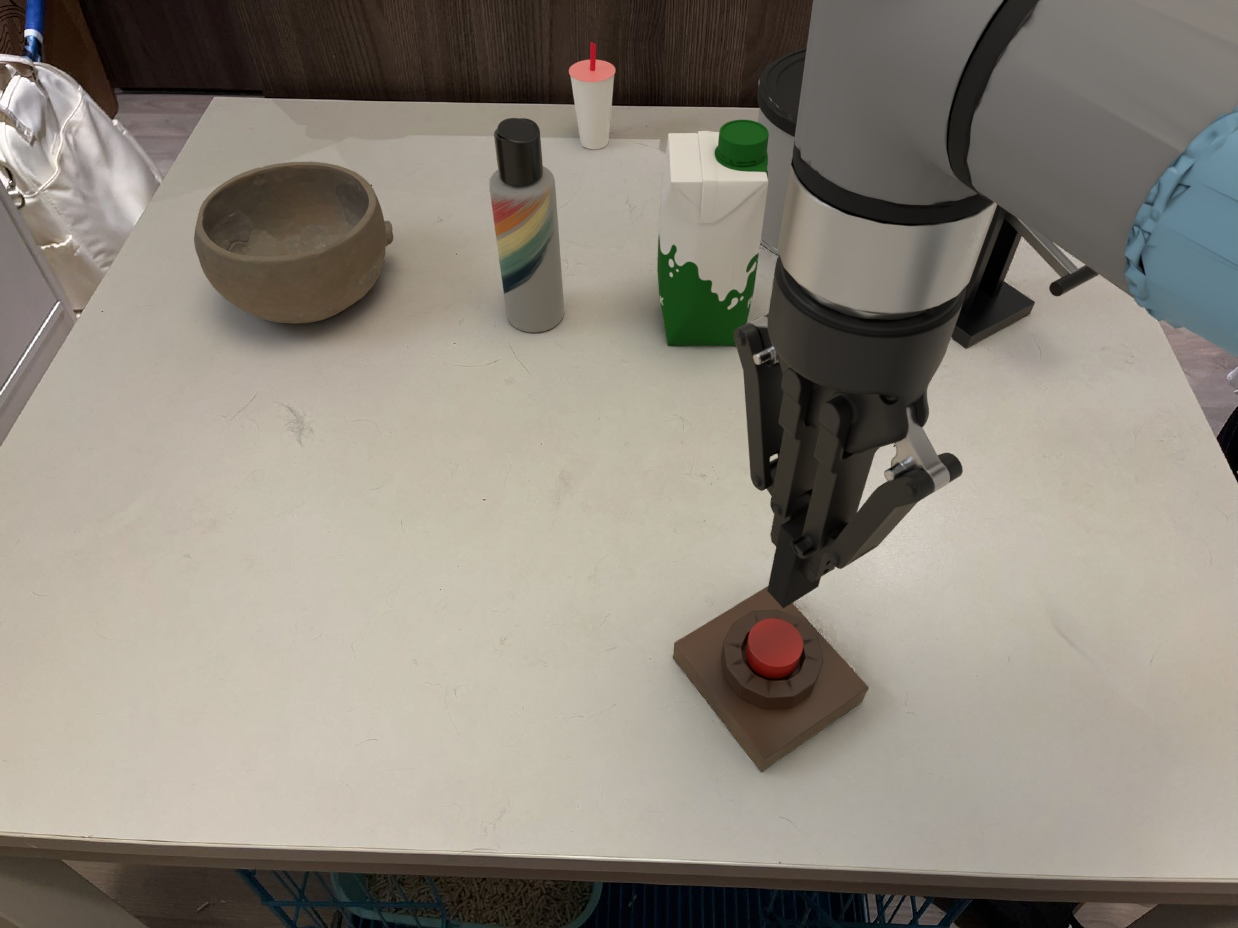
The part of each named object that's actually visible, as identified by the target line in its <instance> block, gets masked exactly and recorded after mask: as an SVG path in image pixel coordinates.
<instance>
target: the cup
mask: <svg viewBox="0 0 1238 928" xmlns="http://www.w3.org/2000/svg"><path fill="white" fill-rule="evenodd" d="M589 52H590V56H589V59H584V60H580V61H577V62H575V63H573V64H572V65H571V66H570V67H569V69H568V74H569V75H570V82H571V87H572V88H571V89H572V97H573V103H574V109H575V116H576V117H575V118H576V122H577V130H578V134H579V142H580V145H581V146H582V147H584V148H585V149H589V150H599V149H604V148H606V146H608V144H609V138H610V130H611V118H612V106H613V94H614V82H615V74H616V67H615V66H614V64H612V63H610V62H609V61H606V60H602V59H597V44H596V43H594V42H592V41H591V42H590V51H589Z"/></svg>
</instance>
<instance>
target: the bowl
mask: <svg viewBox="0 0 1238 928" xmlns="http://www.w3.org/2000/svg"><path fill="white" fill-rule="evenodd" d="M383 213H384V212H383V209H382V206H381V203H380V200H379V199H378V196H377V194H376V192H375V189H374V188H373V186H372V184H370V182H368V181H367V179H366V178H364V177H363V176H362V175H360V174H359V173H358V172H356V171H354V170H351V169H349V168H346V167H344V166H340V165H337V164H333V163H327V162H321V161H287V162H281V163H279V162H278V163H273V164H268V165H264V166H261V167H256V168H253V169H249V170H247V171H243V172H241V173H239V174H237V175H235V176H233V177H231V178H230V179H228V180H226V181H225V182H223V183H221V184H220V185H219V186H217V187H216V188H215V189H213V191H211V192H210V193H209V195H208V196H206V197H205V199H204V200H203V201H202V203H201V205H200V207H199V211H198V213H197V218H196V222H195V228H194V233H193V234H194V236H193V244H194V249H195V253H196V256H197V259H198V261H199V264H200V268H201V270H202V272H203V274H204V275H205V277H206V279H207V280H208V282H209V283H210V285H211V286H212V287H213V289H215V291H216V292H217V293H218V294H220V295H221V296H222V297H223V298H224V299H225V300H227V301H228V302H229V303H230V304H232V305H233V306H235V307H237V308H238V309H240V310H242V311H243V312H245V313H247V314H250V315H252V316H254V317H256V318H260V319H262V320H265V321H268V322H269V321H270V322H274V323H280V324H309V323H316V322H320V321H323V320H327V319H330V318H332V317H334V316H336V315H338V314H339V313H341V312H343V311H344V310H346V309H348V308H349V307H351V306H352V305H354V304H355V303H357V302H358V301H359V300H361V299H363V298H364V297H365V296H367V293H368V292H369V291H370V290H371V289H372V288H373V287H374V285H375V284H376V282H377V280H378V279H379V277H380V275H381V272H382V270H383V266H384V262H385V259H386V253H387V251H386V250H387V249H386V247H387V246H389V245H391V244H392V243H393V241H394V232H393V223H392V222H391V221H390V220H385V218H384V214H383Z"/></svg>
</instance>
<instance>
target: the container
mask: <svg viewBox="0 0 1238 928" xmlns="http://www.w3.org/2000/svg"><path fill="white" fill-rule="evenodd" d="M806 51H807V47H803V48H799V49H795V50H793V51H789V52H787V53H785V54H783V55H780V56H779V57H776V58H775V59H774V60H773V61H771V62H770V63H769V64H767V66H765V68H764V69H763V70H762V71H761V74H760V76H759V80H758V87H757V96H756V98H757V105H758V107H759V108H758V109H759V110H758V117H757V122H758V123H760V124H762V125H764V126H765V127H766V128H767V130H768V132H769V138H768V146H767V153H768V166H767V170H768V188H767V195H766V203H765V212H764V219H763V227H762V234H761V242H760V245H762V246H764V248H766V249H768V251H770V252H772V253H773V254H775V255H777V256H779V252H778V249H777V247H778V241H779V234H780V228H781V222H782V216H783V210H784V204H785V198H786V192H787V186H788V180H789V174H790V167H791V162H792V156H793V146H794V139H795V132H796V125H797V117H798V110H799V102H800V95H801V88H802V80H803V73H804V65H805V58H806Z"/></svg>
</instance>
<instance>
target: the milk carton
mask: <svg viewBox="0 0 1238 928" xmlns="http://www.w3.org/2000/svg"><path fill="white" fill-rule="evenodd" d="M768 138H769V132H768V130H767V128H766V127H765V126H764V125H762V124H760V123H758V121H755V120H751V119H734V120H730V121H727V122H726V123H724V124H722V126H721V127H720V128H719V131H712V130H698V131H697V132H668V134H667V141H666V149H665V155H664V164H663V171H662V177H661V185H660V192H659V207H658V230H657V231H658V235H657V237H658V238H657V265H656V266H657V267H656V269H657V271H656V272H657V285H658V297H659V303H660V310H661V314H662V315H661V316H662V321H663V326H664V332H665V339H666V345H667V346H668V347H673V346H675V347H683V346H684V347H686V346H687V347H689V346H690V347H694V346H695V347H696V346H697V347H700V346H701V347H703V346H706V347H708V346H710V347H711V346H712V347H713V346H714V347H716V346H717V347H719V346H723V347H724V346H725V347H726V346H727V347H728V346H734V347H736V344H735V340H734V330H735V329H737V328H739V327H741V326H743V325H745V324H747V323H748V320H749V315H750V311H751V306H752V302H753V298H754V292H755V286H756V278H757V270H758V263H759V256H760V249H761V243H760V242H761V234H762V227H763V219H764V212H765V203H766V195H767V188H768V170H767V166H768V153H767V146H768Z"/></svg>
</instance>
